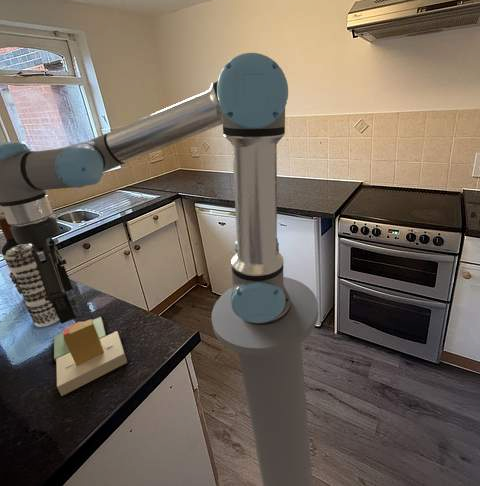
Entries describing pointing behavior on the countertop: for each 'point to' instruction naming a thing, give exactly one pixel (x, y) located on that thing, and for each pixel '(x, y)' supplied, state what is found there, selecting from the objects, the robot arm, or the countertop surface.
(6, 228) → the wine bottle
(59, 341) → the green push button box
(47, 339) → the countertop surface
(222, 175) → the countertop surface
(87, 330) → the thumbturn
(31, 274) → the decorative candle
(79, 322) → the bell button
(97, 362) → the plate
